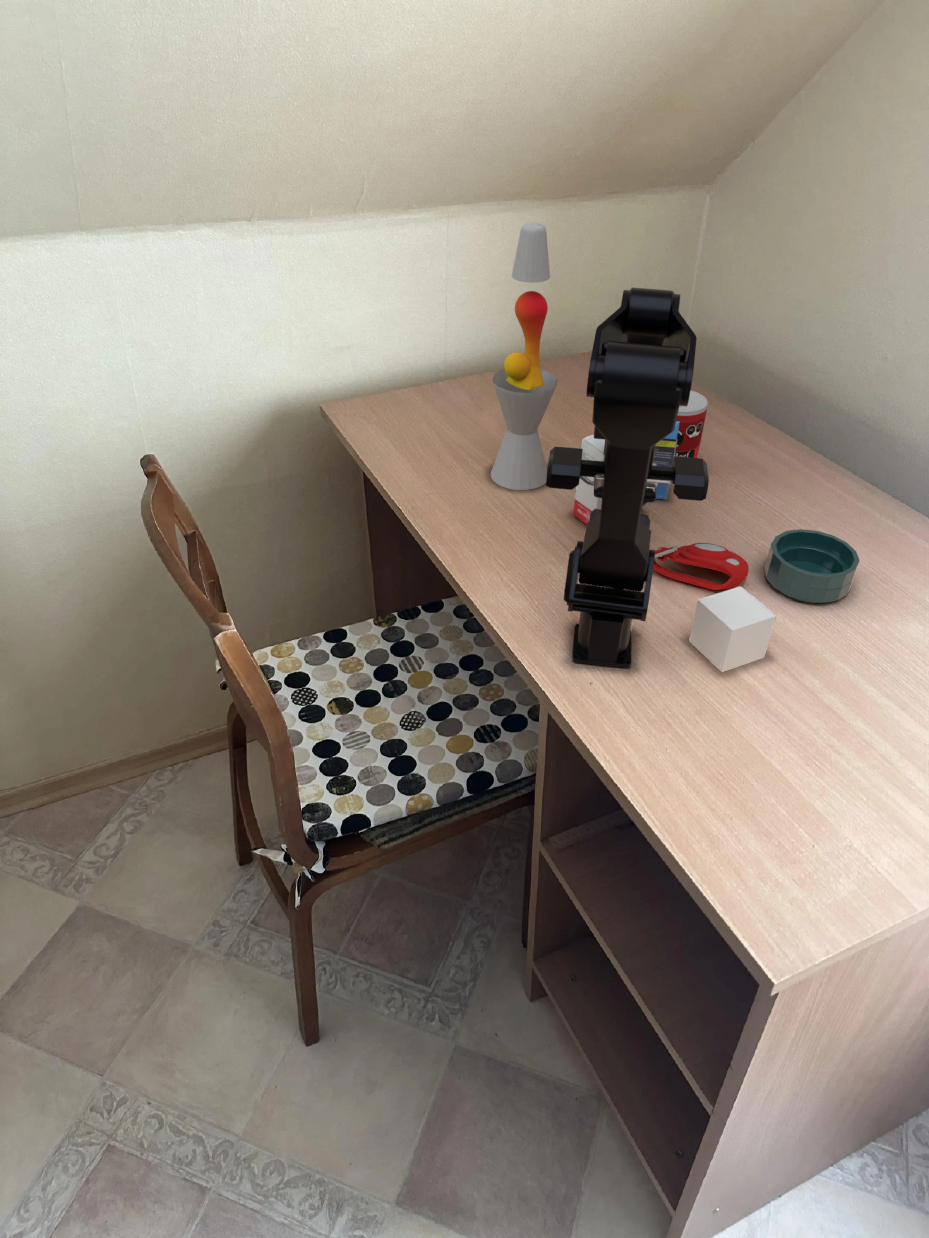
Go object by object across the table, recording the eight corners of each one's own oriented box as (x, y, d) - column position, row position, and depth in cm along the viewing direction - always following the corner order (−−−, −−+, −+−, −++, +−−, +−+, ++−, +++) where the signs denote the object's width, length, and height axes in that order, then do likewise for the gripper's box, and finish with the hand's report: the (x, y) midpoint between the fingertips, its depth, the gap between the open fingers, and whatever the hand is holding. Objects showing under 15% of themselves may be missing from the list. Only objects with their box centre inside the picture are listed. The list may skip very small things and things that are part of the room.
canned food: (639, 475, 133) (649, 406, 126) (648, 451, 139) (658, 384, 132) (691, 484, 131) (704, 415, 124) (698, 460, 137) (711, 392, 130)
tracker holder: (708, 534, 118) (767, 555, 110) (702, 567, 120) (760, 589, 112) (639, 539, 112) (697, 561, 104) (634, 573, 113) (690, 598, 105)
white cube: (721, 672, 98) (732, 630, 95) (688, 641, 103) (697, 599, 99) (764, 657, 101) (776, 615, 97) (730, 627, 105) (740, 585, 101)
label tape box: (666, 488, 130) (680, 409, 122) (666, 502, 127) (680, 422, 119) (605, 481, 131) (615, 403, 124) (604, 495, 128) (614, 416, 120)
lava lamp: (526, 455, 137) (541, 212, 116) (562, 480, 131) (585, 229, 110) (477, 470, 133) (483, 221, 112) (512, 496, 127) (525, 239, 106)
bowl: (855, 610, 108) (866, 580, 105) (768, 602, 109) (777, 571, 106) (840, 562, 116) (850, 533, 113) (759, 555, 117) (767, 526, 114)
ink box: (594, 531, 121) (604, 452, 113) (571, 515, 124) (579, 437, 116) (642, 513, 124) (654, 436, 117) (618, 498, 128) (629, 422, 120)
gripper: (712, 394, 107) (690, 506, 117) (557, 383, 109) (548, 494, 119) (719, 436, 99) (695, 553, 108) (550, 423, 101) (541, 539, 110)
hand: (617, 533), depth 112 cm, fingers closed
